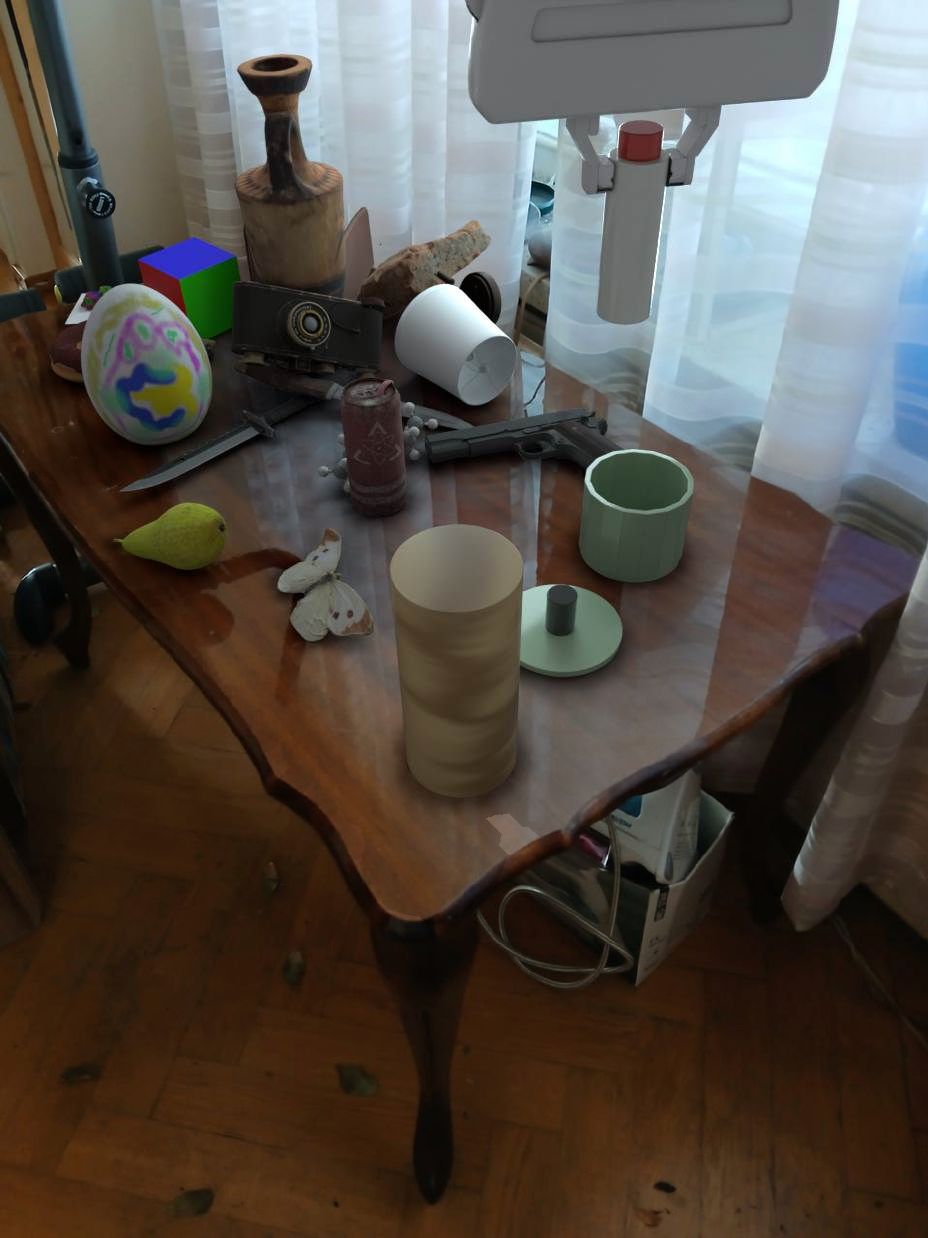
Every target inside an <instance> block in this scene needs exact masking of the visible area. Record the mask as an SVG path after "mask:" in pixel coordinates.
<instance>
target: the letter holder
mask: <svg viewBox="0 0 928 1238" xmlns="http://www.w3.org/2000/svg"><path fill="white" fill-rule="evenodd" d="M242 227H243V231H242V232H243V239H244V240H243V241H244V248H245V255H246V263H247V269H248V274H249V281H251V282H257V283H260V281H259V278H258V275H257V272H256V269H255V266H254V262H253V258H252V254H251V250H250V246H249V243H248V239H247V235H246V230H245V226H244V225H243V226H242ZM373 248H374V247H373V240H372V232H371V224H370V215H369V210H368V207H366V206H363V207H360V209H359V210H357V212H356V213H355V214H354V216H353V217H352V218H351V220H350V221H349V223H348V225H347V226H346V227H345V251H346V271H345V286H344V294H343V299H348V300H353V301H357V300H358V298H359V297H360V295H361V294H360V290H361V286H362V284H363V283H364V282H365V281H366V279H367V278H368V277H369V276H370V275H371V271H372V270H373V268H374V266H375V257H374V249H373Z"/></svg>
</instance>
